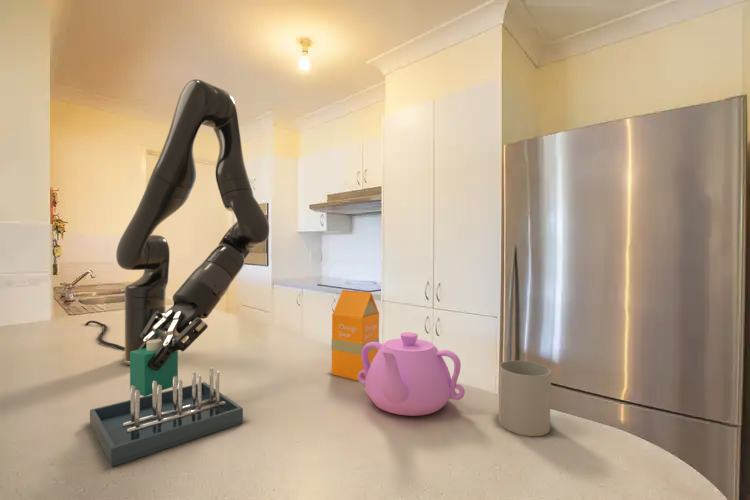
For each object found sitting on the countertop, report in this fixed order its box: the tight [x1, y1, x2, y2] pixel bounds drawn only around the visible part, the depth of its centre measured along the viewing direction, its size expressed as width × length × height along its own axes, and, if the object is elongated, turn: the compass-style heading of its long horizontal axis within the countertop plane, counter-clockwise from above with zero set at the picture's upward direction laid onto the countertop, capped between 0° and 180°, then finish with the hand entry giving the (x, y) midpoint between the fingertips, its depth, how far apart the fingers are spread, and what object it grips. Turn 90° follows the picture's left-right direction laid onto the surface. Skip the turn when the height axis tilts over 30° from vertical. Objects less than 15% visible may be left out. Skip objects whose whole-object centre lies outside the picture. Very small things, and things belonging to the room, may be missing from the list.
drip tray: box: [89, 381, 244, 468], centre depth 66 cm, size 17×19×3 cm
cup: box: [498, 360, 552, 437], centre depth 67 cm, size 8×8×10 cm
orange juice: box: [331, 289, 380, 382], centre depth 93 cm, size 8×9×20 cm
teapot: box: [357, 331, 466, 417], centre depth 73 cm, size 22×22×14 cm
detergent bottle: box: [129, 339, 179, 397], centre depth 68 cm, size 4×6×8 cm
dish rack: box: [123, 367, 225, 441], centre depth 62 cm, size 3×15×9 cm, turn 135°
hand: (143, 365), depth 66 cm, fingers closed on detergent bottle, 4 cm apart
